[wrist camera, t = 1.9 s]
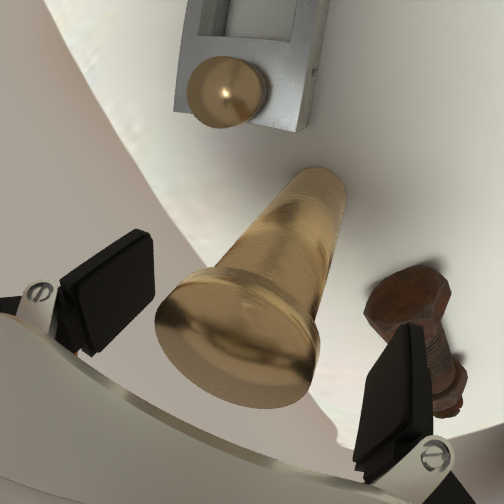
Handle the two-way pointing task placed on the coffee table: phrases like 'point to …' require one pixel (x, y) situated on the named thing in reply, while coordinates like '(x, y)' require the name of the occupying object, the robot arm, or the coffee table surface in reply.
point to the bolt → (429, 316)
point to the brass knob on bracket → (248, 69)
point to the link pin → (259, 301)
